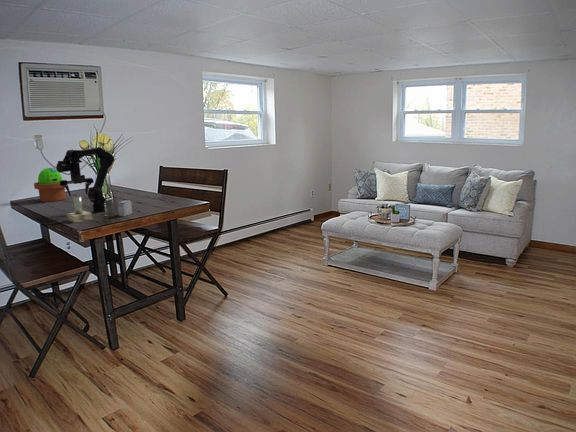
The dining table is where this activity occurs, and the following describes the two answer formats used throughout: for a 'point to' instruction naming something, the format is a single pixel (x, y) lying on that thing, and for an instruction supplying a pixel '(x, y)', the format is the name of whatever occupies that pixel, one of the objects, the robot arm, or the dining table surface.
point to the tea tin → (78, 205)
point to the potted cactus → (50, 185)
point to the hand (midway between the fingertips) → (78, 195)
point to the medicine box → (125, 208)
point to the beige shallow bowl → (79, 217)
